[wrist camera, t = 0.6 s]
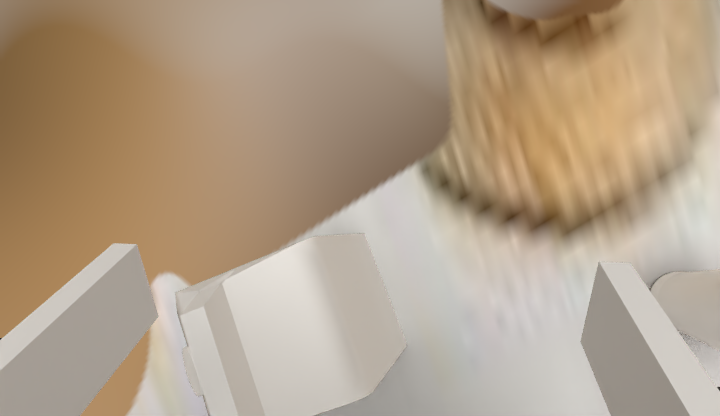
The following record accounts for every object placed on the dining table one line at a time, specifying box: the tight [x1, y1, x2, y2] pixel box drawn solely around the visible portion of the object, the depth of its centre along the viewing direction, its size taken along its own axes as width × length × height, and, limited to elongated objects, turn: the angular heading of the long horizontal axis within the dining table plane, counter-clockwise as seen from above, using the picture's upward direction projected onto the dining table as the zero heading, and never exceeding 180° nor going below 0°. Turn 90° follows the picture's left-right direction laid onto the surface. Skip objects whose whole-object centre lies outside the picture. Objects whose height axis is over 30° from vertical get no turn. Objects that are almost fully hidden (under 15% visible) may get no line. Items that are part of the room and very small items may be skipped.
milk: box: [175, 233, 407, 416], centre depth 35 cm, size 12×12×26 cm
